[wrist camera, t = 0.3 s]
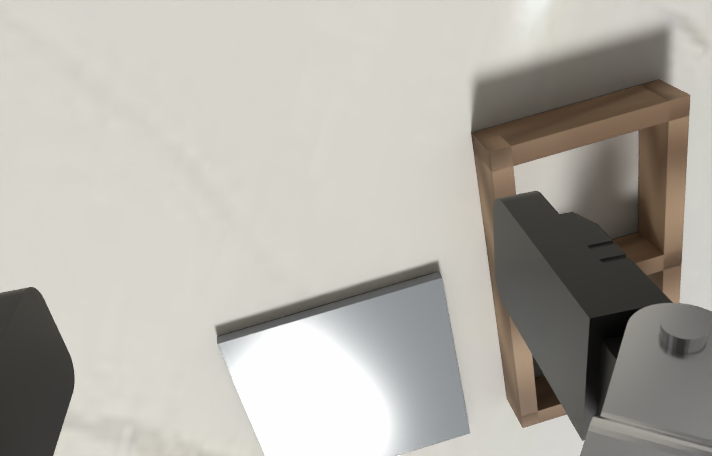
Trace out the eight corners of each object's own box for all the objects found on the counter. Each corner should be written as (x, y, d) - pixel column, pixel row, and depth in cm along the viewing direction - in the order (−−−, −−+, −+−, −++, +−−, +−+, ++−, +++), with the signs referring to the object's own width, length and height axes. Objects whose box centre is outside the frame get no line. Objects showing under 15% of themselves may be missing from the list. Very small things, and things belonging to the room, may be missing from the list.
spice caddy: (471, 132, 31) (489, 152, 29) (659, 79, 32) (690, 95, 30) (506, 398, 40) (522, 427, 38) (651, 354, 41) (675, 380, 39)
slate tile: (217, 336, 34) (217, 344, 34) (438, 271, 35) (441, 277, 34) (279, 483, 40) (280, 491, 40) (466, 425, 41) (470, 433, 40)
